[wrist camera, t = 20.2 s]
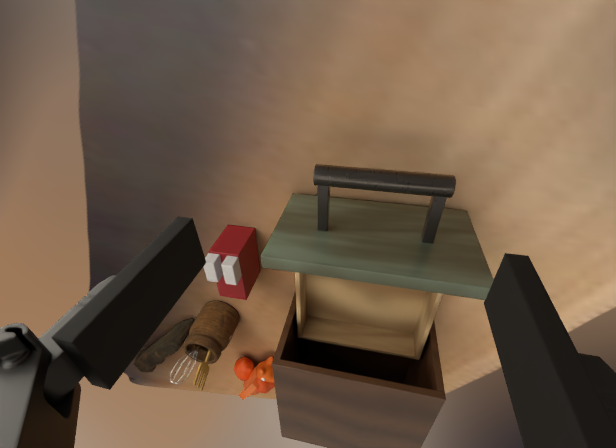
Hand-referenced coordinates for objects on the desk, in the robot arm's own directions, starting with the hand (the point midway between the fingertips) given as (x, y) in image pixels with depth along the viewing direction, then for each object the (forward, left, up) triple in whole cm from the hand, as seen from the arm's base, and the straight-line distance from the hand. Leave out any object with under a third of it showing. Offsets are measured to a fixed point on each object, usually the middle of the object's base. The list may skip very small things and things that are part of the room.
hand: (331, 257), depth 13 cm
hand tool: (+49, +6, -17) cm, 52 cm away
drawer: (+8, +11, -17) cm, 21 cm away
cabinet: (+20, +23, -17) cm, 35 cm away
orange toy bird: (+40, +20, -17) cm, 48 cm away
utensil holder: (+34, +8, -17) cm, 39 cm away
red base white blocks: (+20, +2, -17) cm, 27 cm away
